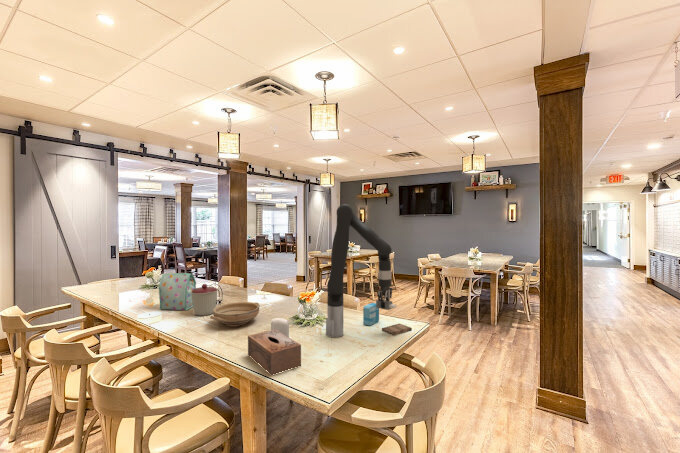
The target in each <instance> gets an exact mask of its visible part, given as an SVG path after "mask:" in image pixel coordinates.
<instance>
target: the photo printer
mask: <svg viewBox="0 0 680 453" xmlns="http://www.w3.org/2000/svg"><path fill="white" fill-rule="evenodd" d="M274 329H275V330H277V331H279V332H280V333H282V334H284V335H285V336H287V337H289V338H290V322H289V320H288V319H285V318H282V317H276V318H272V319H271V321H270V330H274Z"/></svg>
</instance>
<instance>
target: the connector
mask: <svg viewBox="0 0 680 453" xmlns="http://www.w3.org/2000/svg"><path fill="white" fill-rule="evenodd" d="M375 303H376V308H379V310H380V309H381V310H387V311H391V309H392V310H393V309H395V308H397V304H394V303H393V301H392V300H389V301H387V300H386V299H385V308H384V309H383V308H381V302H380V301H378V299H375Z"/></svg>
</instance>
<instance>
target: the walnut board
mask: <svg viewBox="0 0 680 453" xmlns="http://www.w3.org/2000/svg"><path fill="white" fill-rule="evenodd" d="M412 330H413V328H412V327H411V326H407V325H405V324H402V323H397V324H392V325H389V326H385V327H382V328H381V331H382V332H383V333H386V334H389V335H391V336H394V337H395V336H397V335H402V334H405V333H409V332H411V331H412Z"/></svg>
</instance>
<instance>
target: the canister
mask: <svg viewBox="0 0 680 453" xmlns="http://www.w3.org/2000/svg"><path fill="white" fill-rule="evenodd" d="M218 292H219V289H218V288H216V287H214V286H208V284H206V283H203V284H202V285H201V287H196V289H193V290H192V291H191V292H190V293H192V302H193V307H192V308H193V313H194V314H195V315H196V316H200V317H201V316H210V315H212V314H213V309H214V308H215V307H217V306H216V305H217V298H218Z"/></svg>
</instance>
